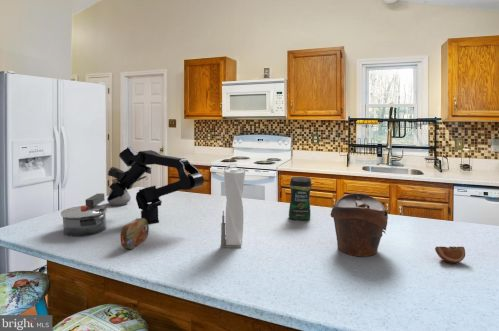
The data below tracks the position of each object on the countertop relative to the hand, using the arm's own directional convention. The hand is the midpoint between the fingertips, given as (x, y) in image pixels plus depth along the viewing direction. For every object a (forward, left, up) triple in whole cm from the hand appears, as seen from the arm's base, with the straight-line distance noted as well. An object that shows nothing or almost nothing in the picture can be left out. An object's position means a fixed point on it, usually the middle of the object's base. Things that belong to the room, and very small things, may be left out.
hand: (108, 199), depth 147 cm
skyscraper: (-40, +46, -9) cm, 62 cm away
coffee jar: (-78, +27, -9) cm, 83 cm away
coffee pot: (-9, -27, -9) cm, 30 cm away
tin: (-8, +34, -9) cm, 36 cm away
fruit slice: (-97, +85, -9) cm, 129 cm away
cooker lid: (+7, +6, -2) cm, 10 cm away
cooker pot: (+9, +9, -9) cm, 15 cm away
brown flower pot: (-77, +67, -9) cm, 102 cm away
